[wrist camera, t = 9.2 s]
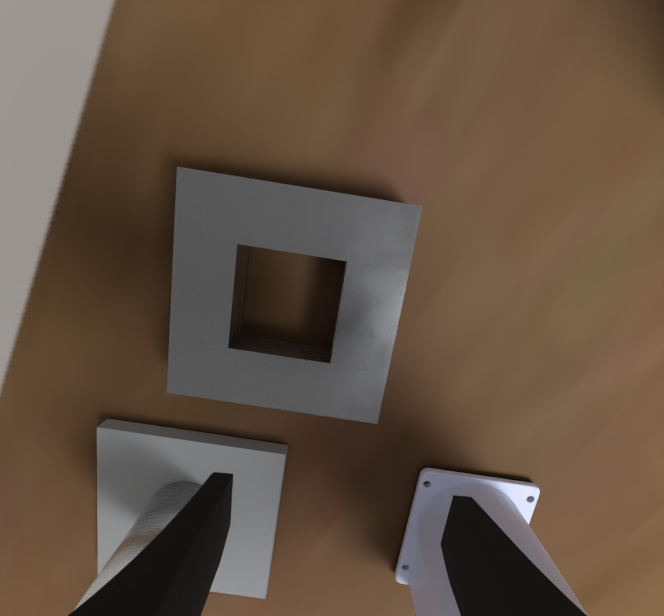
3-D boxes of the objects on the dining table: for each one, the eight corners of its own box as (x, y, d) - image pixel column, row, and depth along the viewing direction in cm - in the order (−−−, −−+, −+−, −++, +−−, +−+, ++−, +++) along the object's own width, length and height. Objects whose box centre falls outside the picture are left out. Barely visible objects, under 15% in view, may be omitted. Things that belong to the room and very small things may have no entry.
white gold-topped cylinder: (217, 549, 23) (156, 714, 15) (145, 535, 23) (45, 694, 15) (229, 489, 22) (170, 634, 14) (154, 474, 22) (50, 611, 14)
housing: (372, 401, 21) (377, 423, 19) (186, 374, 21) (166, 392, 19) (411, 209, 19) (422, 206, 16) (198, 175, 18) (176, 166, 16)
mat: (268, 584, 25) (265, 598, 24) (107, 562, 24) (97, 575, 24) (287, 444, 22) (285, 454, 21) (107, 418, 22) (96, 427, 21)
